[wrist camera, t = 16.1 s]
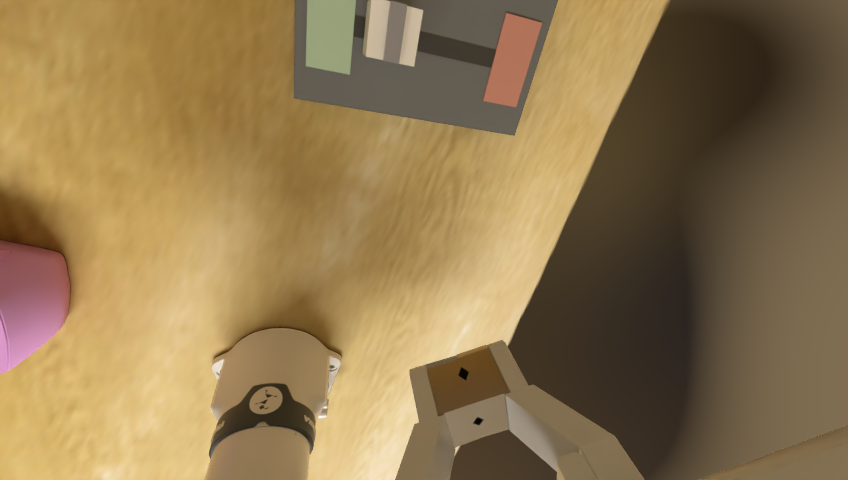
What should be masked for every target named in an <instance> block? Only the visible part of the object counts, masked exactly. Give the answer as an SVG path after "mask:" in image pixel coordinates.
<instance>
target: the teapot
mask: <svg viewBox="0 0 848 480" xmlns="http://www.w3.org/2000/svg"><path fill="white" fill-rule="evenodd" d="M69 304H70V281H69V275H68V269H67V265H66V261H65V259H64V256H63V255H62V254H61V253H60V252H56V251H53V250H48V249H44V248H39V247H34V246H29V245H24V244H19V243H13V242H8V241H2V240H0V373H3V372H7V371H9V370H10V369H12V368H13V367H15V366H16V365H17V364H19V363H20V362H22V361H23V360H24V359H26V358H27V357H28V356H30V355H31V354H32V353H34V352H35V351H36V350H38V349H39V348H40V347H41V346H42V345H44V344H45V343H46V342H47V341H48V340H49V339H50V338H52V337H53V336H54V335H55V334H56V333H57V332H58V331H59V330H60V328H61V327H62V325H63V324H64V322H65V320H66V318H67V315H68V311H69Z"/></svg>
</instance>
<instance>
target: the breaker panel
mask: <svg viewBox="0 0 848 480" xmlns="http://www.w3.org/2000/svg"><path fill="white" fill-rule="evenodd" d="M368 1H369V0H295V60H294V98H296V99H302V100H308V101H313V102H319V103H325V104H331V105H337V106H343V107H349V108H355V109H361V110H367V111H372V112H378V113H384V114H390V115H396V116H402V117H408V118H414V119H420V120H426V121H431V122H437V123H443V124H449V125H455V126H461V127H467V128H473V129H479V130H485V131H490V132H496V133H502V134H508V135H514V136H515V132H516V129H517V126H518V123H519V120H520V117H521V114H522V111H523V107H524V104H525V101H526V98H527V95H528V92H529V89H530V86H531V83H532V79H533V76H534V73H535V70H536V67H537V64H538V61H539V58H540V55H541V51H542V48H543V45H544V42H545V39H546V36H547V33H548V30H549V26H550V23H551V20H552V17H553V14H554V11H555V8H556V5H557V2H558V0H387V1H395V2H399V3H403V4H407V6H410V7H413V8H417V9H421V10H423V15H422V21H421V28H420V34H419V40H418V46H417V52H416V58H415V64H414V67H412V66H408V65H403V64H396V63H392V62H387V61H384V60H380V59H375V58H370V57H366V56H365V55H363V54H362V53H363V42H364V32H365V21H366V11H367V2H368Z"/></svg>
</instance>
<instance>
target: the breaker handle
mask: <svg viewBox="0 0 848 480" xmlns="http://www.w3.org/2000/svg"><path fill="white" fill-rule="evenodd" d="M422 15H423V10H421V9H417V8H413V7H410V6H407V4H403V3H399V2H395V1H387V0H369V1H368V2H367V11H366V21H365V32H364V42H363V53H362V54H363V55H365V56H366V57H370V58H375V59H380V60H384V61H387V62H392V63H396V64H403V65H408V66H412V67H414V64H415V58H416V52H417V46H418V40H419V34H420V28H421V21H422Z"/></svg>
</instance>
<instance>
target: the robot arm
mask: <svg viewBox="0 0 848 480" xmlns="http://www.w3.org/2000/svg"><path fill="white" fill-rule="evenodd" d="M341 359H342V358H341V356H340V355H339V354H338V353H336V352H333V351H331V350H329V349H327V348H326V347H325V346H324V345H323V344H322V343H321V342H320V341H319V340H318V339H316V338H315V337H313V336H312V335H310V334H308V333H305V332H302V331H299V330H295V329H288V328H272V329H266V330H261V331H258V332H255V333H252V334H250V335H248V336H246V337H244V338H243V339H241V340H240V341H239V342H238V343H237V344H236V345H235V346H234V347H233V348H232V349H231V350H230V351H229V352H227V353H224V354H222V355H220V356H218V357H216V358H215V359H214V360H213V362H212V366H211V368H212V370H213V372H214V374H215V376H216V378H217V380H218V382H217V385H216V389H215V393H214V396H213V400H212V403H211V412H213V414H214V417H215V418H216V419H217V420H218V423H217V426H216V429H215V431H214V433H213V436H212V440H211V447H210V451H209V457H210V459H211V460H210V463H209V467H208V470H207V473H206V476H205V479H204V480H308V470H309V455H310V454H311V452H312V450H313V445H314V440H315V433H316V430H315V423H316V421H317V419H325V418H326V416H327V410H328V399H327V396H328V394H329V392H330V389H331V387H332V384H333V382H334V379H335V377H336V374H337V372H338V369H339V367H340V364H341ZM410 379H411V384H412V389H413V394H414V398H415V403H416V408H417V413H418V418H419V423H417V424H414V427H413V430H412V433H411V436H410V439H409V442H408V444H407V447H406V450H405V453H404V456H403V459H402V462H401V465H400V467H399V470H398V473H397V476H396V479H395V480H449V479H450V474H451V469H452V464H453V459H454V454H455V447H458V446H460V445H463V444H465V443H468V442H471V441H473V440H476V439H479V438H482V437H485V436H488V435H491V434H495V433H498V432H501V431H504V430H508V429H510V431H511V432H512V433H513V434H514V435H516V436H517V437H518V438H519V439H520V440H521V441H522V442H524V443H525V444H526V445H527V446H528V447H529V448H531V449H532V450H533V451H534V452H535V453H536V454H537V455H538V456H540V457H541V458H542V459H543V460H544V461H545V462H546V463H548V464H549V465H550V466H551V467H552V468H553V469H555V470H556V471H557V480H644V478H643V477H642V476H641V474H640V473H639V471H638V470H637V468H636V467H635V465H634V464H633V462H632V461H631V459H630V458H629V457H628V455H627V454H626V452H625V451H624V449H623V448H622V446H621V445H620V443H619V442H618V440H617V439H616V437H615V436H614V435H612V434H610V433H609V432H607V431H606V430H604V429H603V428H601V427H599V426H598V425H596V424H594V423H593V422H591V421H590V420H588V419H587V418H585V417H584V416H582V415H580V414H579V413H577V412H576V411H574V410H573V409H571V408H569V407H568V406H566V405H564V404H563V403H561V402H560V401H558V400H557V399H555V398H554V397H552V396H550V395H549V394H547V393H546V392H544V391H542V390H541V389H539V388H538V387H536V386H534V385H531V386H528V384H527V382H526V380H525V378H524V377H523V375H522V373H521V371H520V369H519V368H518V366H517V364H516V362H515V360H514V358H513V356H512V354H511V353H510V351H509V349H508V347H507V345H506V343H505V342H504V341H503V340H500V341H497V342H495V343H492V344H489V345H484V346H481V347H478V348H475V349H472V350H469V351H466V352H463V353H460V354H457V355H456V356H453V357H450V358H446V359H443V360H440V361H436V362H433V363H430V364H426V365H423V366H420V367H416V368H413V369H410ZM699 480H848V425H847V426H844V427H841V428H839V429H836V430H833V431H830V432H828V433H825V434H822V435H819V436H817V437H814V438H811V439H808V440H806V441H803V442H800V443H797V444H795V445H792V446H789V447H786V448H784V449H781V450H778V451H775V452H773V453H770V454H767V455H765V456H762V457H759V458H756V459H754V460H751V461H748V462H745V463H742V464H740V465H737V466H734V467H732V468H729V469H726V470H724V471H721V472H718V473H715V474H712V475H710V476H707V477H704V478H701V479H699Z"/></svg>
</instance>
